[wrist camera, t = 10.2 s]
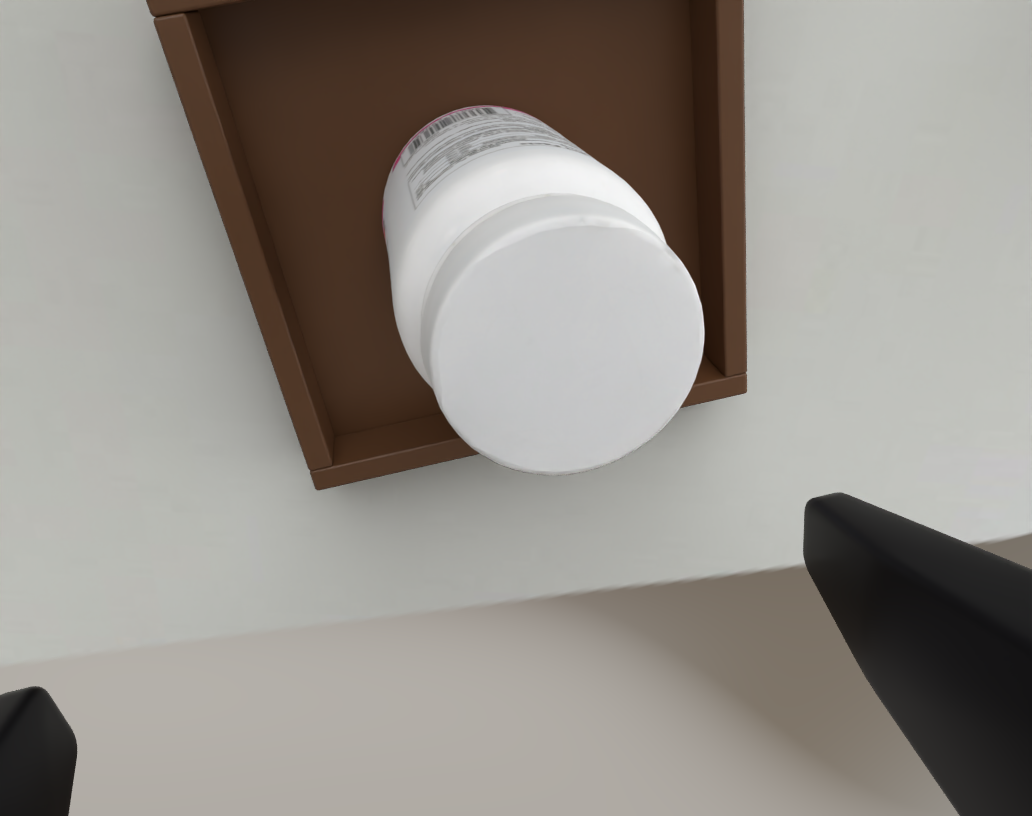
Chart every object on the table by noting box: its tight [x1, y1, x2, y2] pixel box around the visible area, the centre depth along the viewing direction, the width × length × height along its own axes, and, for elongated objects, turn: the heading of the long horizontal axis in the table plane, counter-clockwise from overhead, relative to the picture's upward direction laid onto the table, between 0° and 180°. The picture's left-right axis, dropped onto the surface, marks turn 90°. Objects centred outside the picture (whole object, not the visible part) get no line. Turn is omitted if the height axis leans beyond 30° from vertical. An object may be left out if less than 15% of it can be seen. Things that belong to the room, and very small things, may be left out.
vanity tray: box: [146, 0, 747, 490], centre depth 18 cm, size 11×11×2 cm
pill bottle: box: [382, 105, 704, 475], centre depth 15 cm, size 5×5×8 cm
